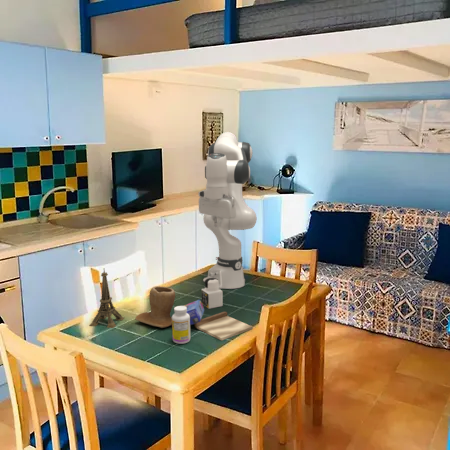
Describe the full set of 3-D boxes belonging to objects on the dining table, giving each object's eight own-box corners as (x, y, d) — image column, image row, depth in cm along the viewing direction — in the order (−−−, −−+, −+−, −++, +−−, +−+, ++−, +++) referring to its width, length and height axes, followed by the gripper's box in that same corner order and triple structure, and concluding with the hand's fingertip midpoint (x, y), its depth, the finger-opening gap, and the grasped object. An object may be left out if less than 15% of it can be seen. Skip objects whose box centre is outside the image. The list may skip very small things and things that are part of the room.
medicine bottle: (201, 303, 224) (200, 278, 221) (215, 301, 227) (215, 275, 225) (208, 309, 218) (207, 282, 215) (222, 306, 221) (222, 280, 218)
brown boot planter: (182, 322, 204) (181, 287, 201) (162, 332, 194) (161, 295, 191) (154, 314, 212) (153, 280, 209) (134, 323, 203) (132, 288, 200)
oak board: (194, 327, 198) (194, 321, 198) (224, 317, 208) (224, 311, 208) (221, 340, 186) (221, 334, 185) (252, 328, 196) (252, 322, 196)
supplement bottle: (177, 335, 191) (176, 303, 188) (193, 338, 188) (192, 305, 186) (169, 342, 184) (168, 309, 182) (185, 345, 182) (184, 312, 180)
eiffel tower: (113, 328, 198) (109, 267, 193) (89, 326, 201) (85, 266, 196) (124, 318, 208) (121, 260, 204) (101, 316, 211) (97, 259, 206)
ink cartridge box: (199, 298, 205) (194, 312, 191) (205, 309, 206) (200, 324, 192) (178, 306, 207) (171, 321, 193) (184, 318, 208) (177, 333, 194)
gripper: (239, 195, 199) (240, 229, 201) (207, 190, 214) (208, 222, 217) (228, 197, 195) (228, 231, 197) (195, 192, 210) (196, 224, 213)
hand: (217, 226), depth 207 cm, fingers closed
